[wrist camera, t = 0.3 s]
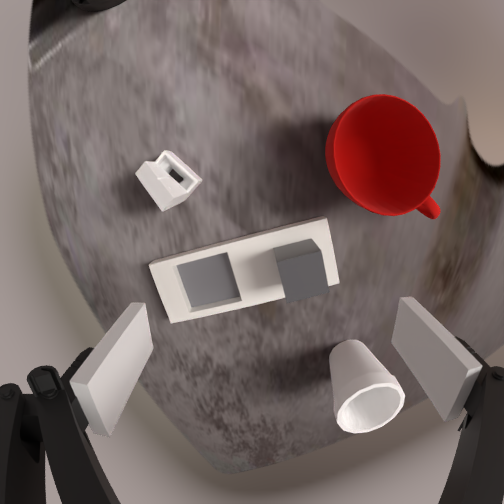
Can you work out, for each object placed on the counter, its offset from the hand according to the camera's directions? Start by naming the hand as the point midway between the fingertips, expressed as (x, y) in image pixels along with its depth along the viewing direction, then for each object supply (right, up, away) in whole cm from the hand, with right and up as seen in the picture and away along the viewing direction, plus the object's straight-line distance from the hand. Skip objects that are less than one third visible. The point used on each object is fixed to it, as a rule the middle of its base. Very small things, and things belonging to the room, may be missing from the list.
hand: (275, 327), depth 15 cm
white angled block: (-11, +14, +24) cm, 29 cm away
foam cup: (+14, -13, +31) cm, 36 cm away
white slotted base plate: (-2, +1, +27) cm, 27 cm away
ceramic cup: (+15, +15, +23) cm, 31 cm away
